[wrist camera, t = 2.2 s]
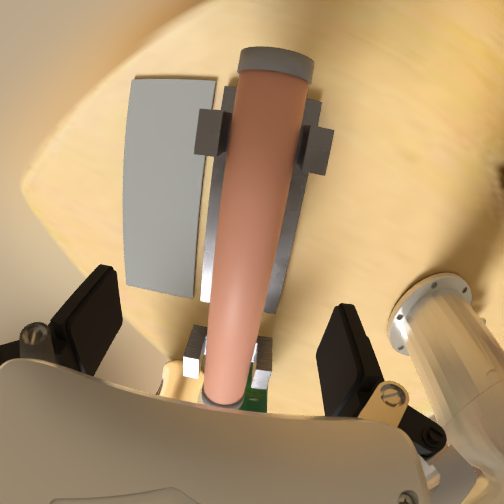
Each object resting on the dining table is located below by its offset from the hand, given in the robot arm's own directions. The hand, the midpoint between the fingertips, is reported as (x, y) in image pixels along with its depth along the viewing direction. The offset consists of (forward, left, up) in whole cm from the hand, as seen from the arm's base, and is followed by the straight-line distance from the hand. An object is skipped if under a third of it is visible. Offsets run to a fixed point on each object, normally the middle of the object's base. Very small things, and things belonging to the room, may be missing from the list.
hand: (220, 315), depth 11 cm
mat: (+8, 0, -16) cm, 18 cm away
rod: (-1, 0, -4) cm, 4 cm away
